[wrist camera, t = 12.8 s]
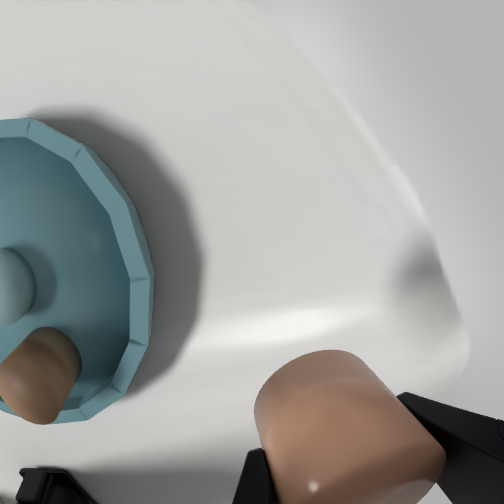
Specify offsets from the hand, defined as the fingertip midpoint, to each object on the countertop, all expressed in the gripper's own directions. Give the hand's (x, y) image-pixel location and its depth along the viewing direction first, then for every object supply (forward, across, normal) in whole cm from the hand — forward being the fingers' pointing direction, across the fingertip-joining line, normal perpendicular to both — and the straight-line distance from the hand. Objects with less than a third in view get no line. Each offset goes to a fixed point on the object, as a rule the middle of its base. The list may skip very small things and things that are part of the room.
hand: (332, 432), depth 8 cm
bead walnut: (+10, +14, 0) cm, 17 cm away
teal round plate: (+11, +15, -6) cm, 20 cm away
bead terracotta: (+2, 0, 0) cm, 2 cm away
